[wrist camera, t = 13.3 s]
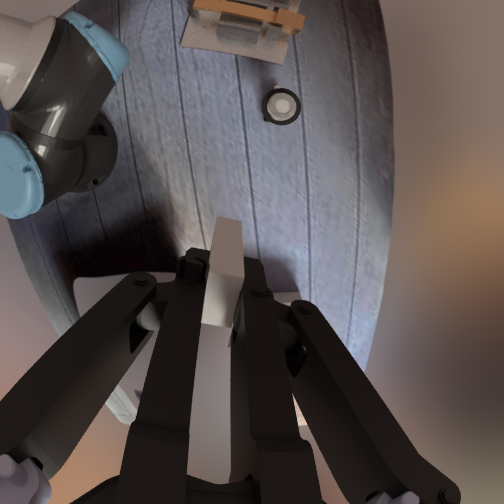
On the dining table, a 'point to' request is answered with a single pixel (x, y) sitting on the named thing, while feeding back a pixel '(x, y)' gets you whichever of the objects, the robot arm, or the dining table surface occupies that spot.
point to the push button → (281, 106)
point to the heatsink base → (209, 42)
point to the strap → (255, 14)
